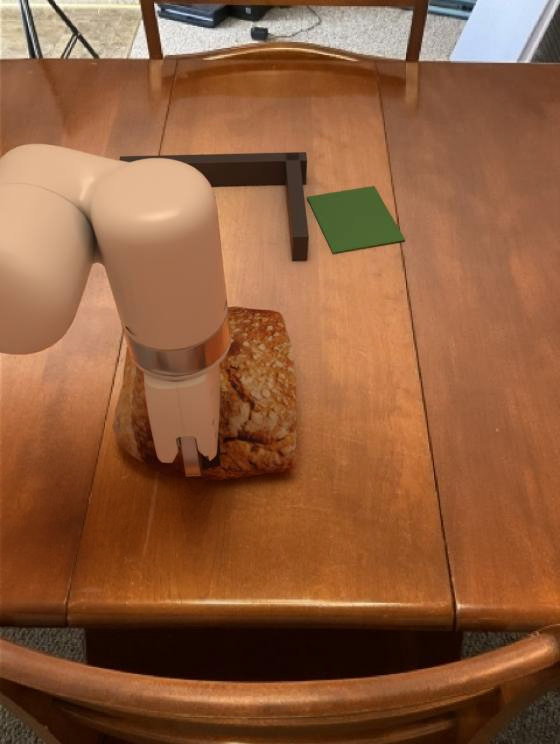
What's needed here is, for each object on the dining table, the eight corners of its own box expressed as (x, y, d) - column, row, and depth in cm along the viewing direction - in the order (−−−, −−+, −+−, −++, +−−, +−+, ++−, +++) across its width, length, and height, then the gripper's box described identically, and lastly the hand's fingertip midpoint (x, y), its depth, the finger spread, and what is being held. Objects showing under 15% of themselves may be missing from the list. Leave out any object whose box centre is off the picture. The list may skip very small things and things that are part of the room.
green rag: (332, 254, 88) (332, 252, 88) (306, 198, 95) (306, 196, 95) (404, 241, 90) (405, 239, 89) (374, 187, 97) (374, 185, 97)
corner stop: (111, 266, 86) (105, 242, 83) (124, 180, 98) (119, 156, 94) (315, 260, 87) (316, 236, 84) (305, 176, 98) (306, 151, 95)
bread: (297, 484, 67) (301, 427, 59) (112, 490, 66) (90, 434, 59) (287, 330, 80) (288, 266, 72) (131, 334, 79) (115, 271, 71)
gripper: (135, 259, 53) (168, 397, 68) (113, 414, 44) (157, 536, 59) (230, 255, 54) (243, 394, 68) (228, 410, 44) (244, 533, 59)
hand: (203, 460), depth 63 cm, fingers closed
